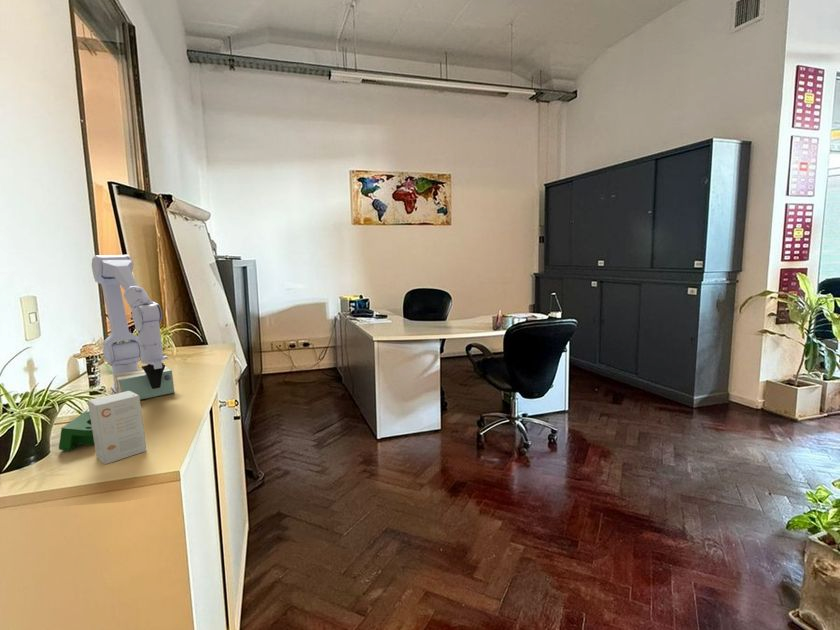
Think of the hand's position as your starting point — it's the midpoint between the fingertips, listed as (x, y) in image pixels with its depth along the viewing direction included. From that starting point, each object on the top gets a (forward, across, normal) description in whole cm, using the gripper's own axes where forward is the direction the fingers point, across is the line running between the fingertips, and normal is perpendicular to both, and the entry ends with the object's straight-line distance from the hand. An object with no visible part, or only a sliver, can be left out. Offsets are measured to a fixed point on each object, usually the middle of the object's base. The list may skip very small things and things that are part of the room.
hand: (156, 387), depth 135 cm
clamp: (+4, -24, +19) cm, 31 cm away
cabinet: (+3, +9, +2) cm, 9 cm away
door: (+3, +3, +1) cm, 4 cm away
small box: (+4, -38, +15) cm, 41 cm away
